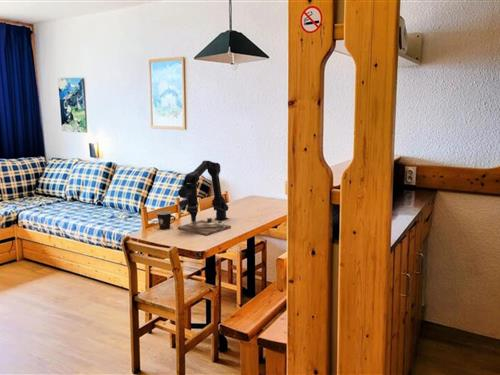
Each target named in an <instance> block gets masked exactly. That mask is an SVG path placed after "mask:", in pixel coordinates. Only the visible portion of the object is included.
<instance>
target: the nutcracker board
mask: <svg viewBox="0 0 500 375" xmlns="http://www.w3.org/2000/svg"><path fill="white" fill-rule="evenodd" d="M206 219H207V220H204V219H203V220H202V219H201V220H196V224H199V223H215V222H214V221H213V219H212V218H210V217H209V218H206ZM231 228H232V226H231V225H229V224H225V223H224V226H222V227H218V226H207V227H194V225H191V223H186V224H183V225H180V226H177V230H180V231H184V232H189V233H193V234H197V235H200V236H201V235H202V236H206V237H207V236H212V235H214V234H216V233H220V232H223V231H227V230H229V229H231Z"/></svg>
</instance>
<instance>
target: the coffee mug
mask: <svg viewBox="0 0 500 375" xmlns="http://www.w3.org/2000/svg"><path fill="white" fill-rule="evenodd" d="M156 216H157V219H158V220H157V221H158V225H159V230H163V231H165V230H169V229H171V225H172V224H173V223H174V222H175V220H176V217H175V216H174V215H172V212H171V211H169V210H168V211H166V210H165V211H159V212H157V213H156ZM171 217H173V220H172V219H171ZM171 220H172V221H171Z"/></svg>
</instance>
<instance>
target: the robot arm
mask: <svg viewBox="0 0 500 375" xmlns="http://www.w3.org/2000/svg"><path fill="white" fill-rule="evenodd" d="M206 171H207V174H209V176H210V178H211V184H212V189H213V196H214V197H213V199H212V200H211V203H212V208H213V210H214V211H215V212H216V213H215V215H216V216H215V217H214V219H215V220H217V219H218V220H217V221H224V220H228V219H229V217H227V211H229V205H228V204H227V203H226V199H225V197H224V196H223V195H222V188H221V181H220V174H221V165H220V163H218V162H213V161H211V160H202V162H201V164H200V165H198V166H197V167H196V168H195V169H194V170H193V171H190V172H189V173H187V174H185V176H184V179H183V183H182V184H181V186H180V189H179V190H178V191H177V195H178V197H180V198H181V199H183V200H180V201H179V202H178V206H179V207H180V209H181V208H184V207H185V206H187V208H186V211H187V213H188V214H190V219H191V218H192V221H193V222H194V221H195V218H196V219H197V216H198V215H197V214H198V211H199V201H198V187H200V185H199V184H198V183H199V181H200V178H201V176H202V175H203V174H204V173H205V172H206Z"/></svg>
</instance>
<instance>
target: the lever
mask: <svg viewBox="0 0 500 375" xmlns="http://www.w3.org/2000/svg"><path fill="white" fill-rule="evenodd" d="M190 219H191V220H190V222H191V225H194V227H207V226H218V227H222V226H224V224H225V222H224V221H223V220H217V222H214V223H199V224H196V222H197V217H196V218H195V221H194V222H193V221H192V218H191V217H190Z"/></svg>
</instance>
